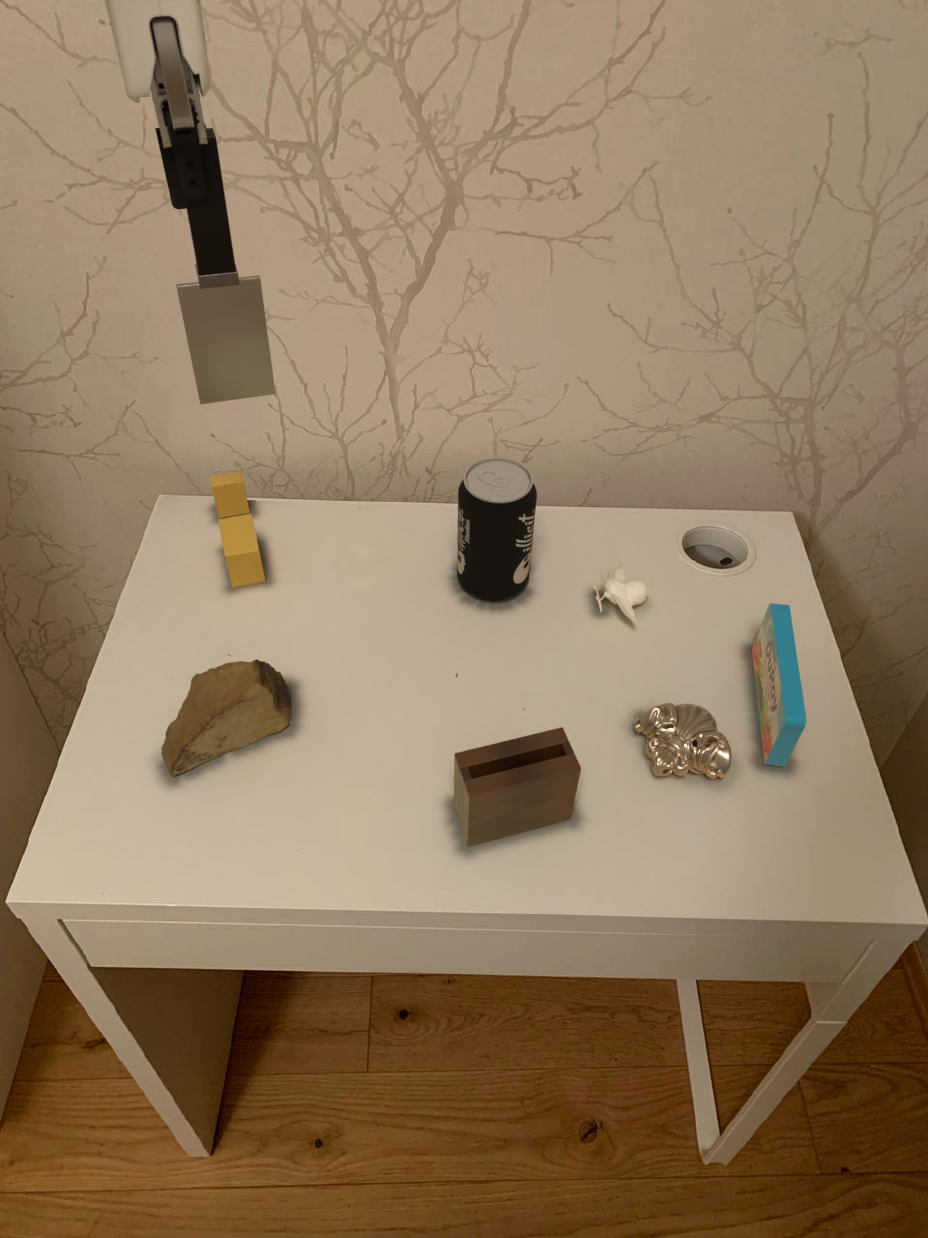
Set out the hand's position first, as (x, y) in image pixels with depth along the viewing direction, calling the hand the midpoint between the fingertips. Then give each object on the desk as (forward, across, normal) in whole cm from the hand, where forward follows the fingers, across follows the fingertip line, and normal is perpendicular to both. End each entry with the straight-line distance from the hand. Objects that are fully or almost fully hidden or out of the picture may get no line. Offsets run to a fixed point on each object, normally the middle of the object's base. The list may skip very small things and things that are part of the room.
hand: (194, 195), depth 62 cm
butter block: (+33, +2, -2) cm, 33 cm away
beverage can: (+33, +10, +19) cm, 40 cm away
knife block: (+33, +33, +13) cm, 49 cm away
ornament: (+33, +32, +27) cm, 53 cm away
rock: (+33, +20, -6) cm, 39 cm away
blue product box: (+33, +30, +36) cm, 58 cm away
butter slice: (+33, -6, -2) cm, 34 cm away
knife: (+16, 0, 0) cm, 16 cm away
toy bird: (+33, +16, +29) cm, 47 cm away
